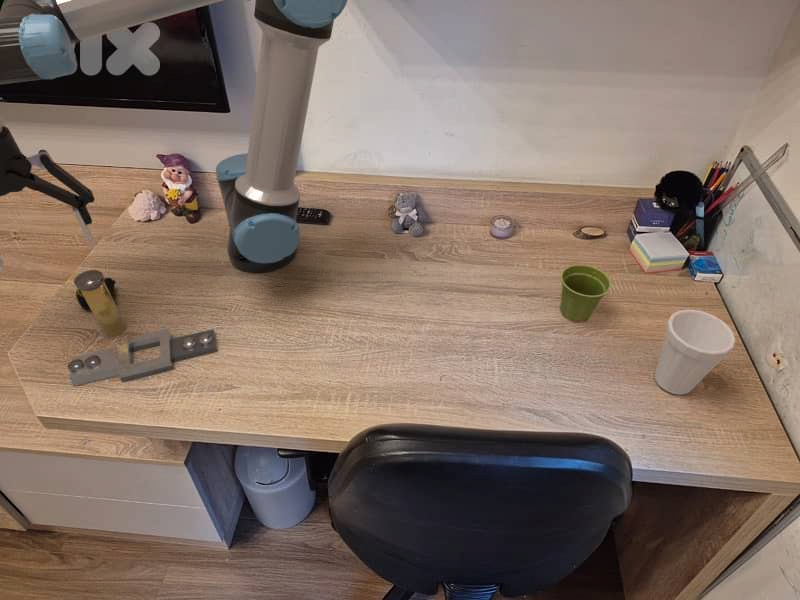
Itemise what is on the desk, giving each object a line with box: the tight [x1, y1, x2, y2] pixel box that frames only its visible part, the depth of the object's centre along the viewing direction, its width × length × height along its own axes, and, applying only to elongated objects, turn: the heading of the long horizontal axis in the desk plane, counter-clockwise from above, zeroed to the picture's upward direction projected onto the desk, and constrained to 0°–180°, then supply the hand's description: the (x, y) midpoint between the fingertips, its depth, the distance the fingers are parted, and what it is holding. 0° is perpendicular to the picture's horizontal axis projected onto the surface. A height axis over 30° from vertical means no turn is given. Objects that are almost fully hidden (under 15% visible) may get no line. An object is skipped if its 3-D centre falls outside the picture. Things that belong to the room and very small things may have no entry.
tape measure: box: [75, 277, 117, 311], centre depth 106 cm, size 7×7×4 cm
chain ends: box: [67, 328, 218, 387], centre depth 95 cm, size 24×9×3 cm, turn 110°
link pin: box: [73, 269, 127, 338], centre depth 97 cm, size 5×5×13 cm
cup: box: [654, 309, 736, 396], centre depth 88 cm, size 10×10×13 cm
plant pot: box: [559, 263, 612, 323], centre depth 103 cm, size 9×9×9 cm
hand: (47, 253), depth 88 cm, fingers open, 13 cm apart
